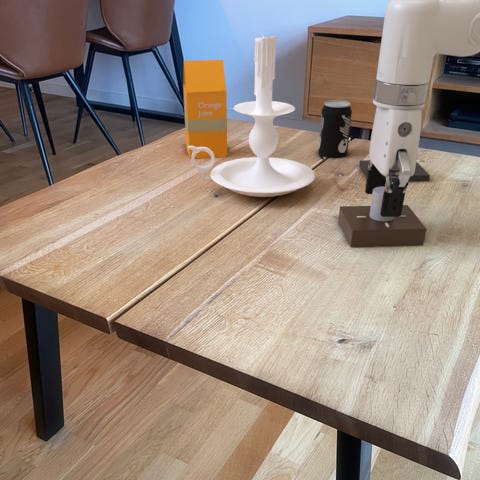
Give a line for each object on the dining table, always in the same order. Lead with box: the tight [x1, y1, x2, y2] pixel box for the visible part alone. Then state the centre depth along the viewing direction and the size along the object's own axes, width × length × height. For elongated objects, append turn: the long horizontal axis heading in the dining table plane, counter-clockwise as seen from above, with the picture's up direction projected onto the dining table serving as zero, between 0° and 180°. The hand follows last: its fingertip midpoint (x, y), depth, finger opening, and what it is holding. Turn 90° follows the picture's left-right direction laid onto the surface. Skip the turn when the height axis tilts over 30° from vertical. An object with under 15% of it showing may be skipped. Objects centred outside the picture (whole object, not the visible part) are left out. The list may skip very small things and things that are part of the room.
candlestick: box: [188, 33, 316, 198], centre depth 103 cm, size 21×25×28 cm
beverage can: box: [318, 99, 353, 161], centre depth 124 cm, size 7×7×12 cm
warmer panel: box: [337, 204, 427, 248], centre depth 93 cm, size 12×10×3 cm
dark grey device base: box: [358, 159, 431, 183], centre depth 116 cm, size 12×10×4 cm
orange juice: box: [182, 59, 228, 160], centre depth 125 cm, size 8×9×20 cm
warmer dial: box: [369, 186, 394, 222], centre depth 91 cm, size 4×4×5 cm
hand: (381, 204), depth 91 cm, fingers open, 9 cm apart
